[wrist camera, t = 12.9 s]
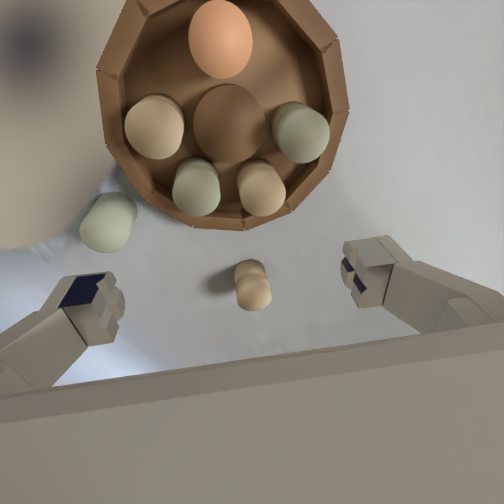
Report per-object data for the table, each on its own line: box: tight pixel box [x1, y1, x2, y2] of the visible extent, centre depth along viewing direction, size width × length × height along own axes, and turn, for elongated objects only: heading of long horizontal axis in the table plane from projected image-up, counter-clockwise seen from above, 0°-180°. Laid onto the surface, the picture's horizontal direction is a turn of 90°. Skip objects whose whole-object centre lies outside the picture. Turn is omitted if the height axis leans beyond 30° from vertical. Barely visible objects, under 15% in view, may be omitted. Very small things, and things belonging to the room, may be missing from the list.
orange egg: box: [188, 0, 253, 79], centre depth 20 cm, size 4×4×5 cm
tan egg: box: [234, 259, 272, 311], centre depth 35 cm, size 4×4×5 cm
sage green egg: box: [79, 192, 137, 253], centre depth 28 cm, size 4×4×5 cm
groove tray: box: [96, 0, 349, 231], centre depth 24 cm, size 20×20×6 cm
